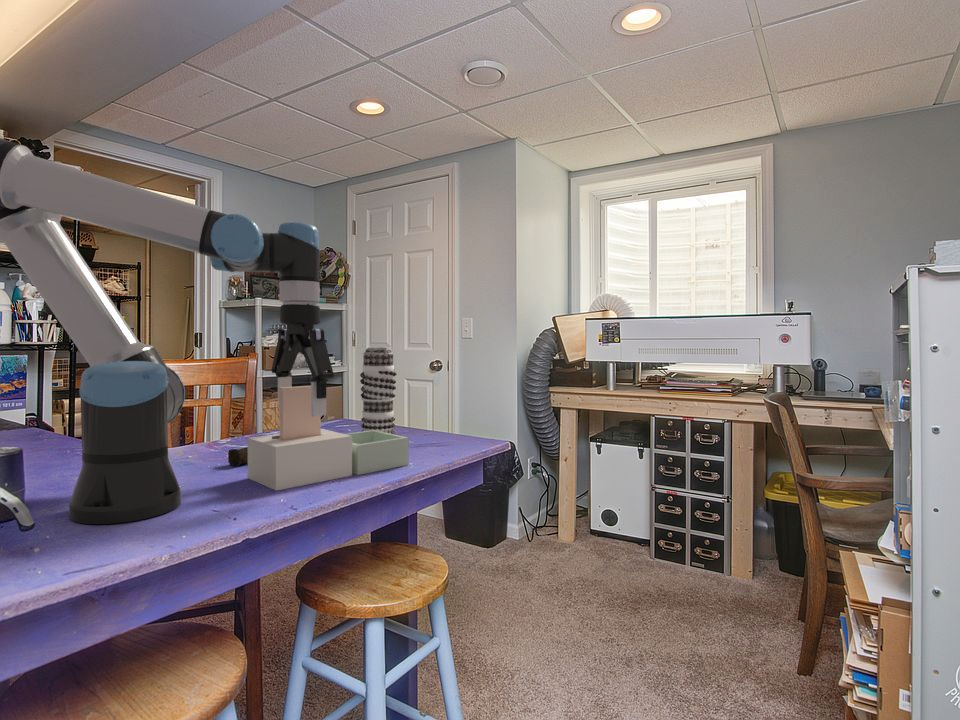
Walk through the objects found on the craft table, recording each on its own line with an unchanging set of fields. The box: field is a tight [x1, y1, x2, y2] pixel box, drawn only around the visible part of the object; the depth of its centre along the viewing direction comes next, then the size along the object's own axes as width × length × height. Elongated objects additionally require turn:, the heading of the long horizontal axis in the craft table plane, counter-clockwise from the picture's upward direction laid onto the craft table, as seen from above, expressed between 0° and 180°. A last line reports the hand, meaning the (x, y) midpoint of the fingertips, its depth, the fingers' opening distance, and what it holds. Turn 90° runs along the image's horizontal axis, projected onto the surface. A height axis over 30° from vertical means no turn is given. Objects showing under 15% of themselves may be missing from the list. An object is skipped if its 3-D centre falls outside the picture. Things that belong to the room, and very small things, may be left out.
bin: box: [345, 430, 410, 476], centre depth 123 cm, size 13×13×6 cm
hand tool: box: [227, 446, 248, 468], centre depth 127 cm, size 19×4×5 cm, turn 145°
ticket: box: [278, 385, 322, 441], centre depth 111 cm, size 8×2×16 cm, turn 136°
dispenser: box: [247, 428, 353, 491], centre depth 111 cm, size 16×12×8 cm
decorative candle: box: [359, 347, 398, 435], centre depth 144 cm, size 9×9×25 cm
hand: (301, 412), depth 111 cm, fingers open, 13 cm apart
